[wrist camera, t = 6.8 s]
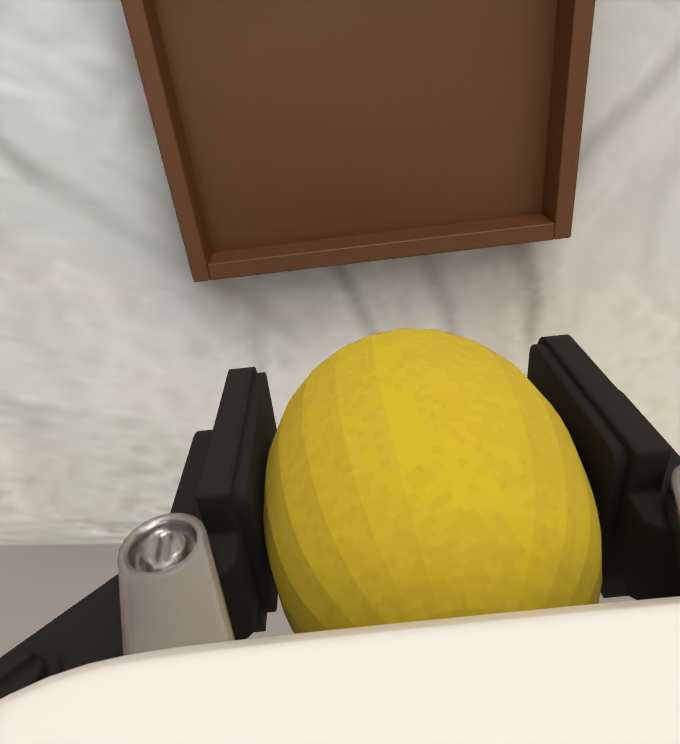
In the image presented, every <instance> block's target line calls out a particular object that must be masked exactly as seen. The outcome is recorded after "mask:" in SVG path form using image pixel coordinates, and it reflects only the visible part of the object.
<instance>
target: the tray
mask: <svg viewBox="0 0 680 744" xmlns="http://www.w3.org/2000/svg"><path fill="white" fill-rule="evenodd" d="M121 2H122V6H123V10H124V14H125V18H126V22H127V26H128V29H129V33H130V37H131V41H132V45H133V49H134V53H135V56H136V60H137V64H138V68H139V72H140V76H141V80H142V83H143V87H144V91H145V95H146V99H147V103H148V107H149V110H150V114H151V118H152V122H153V126H154V130H155V134H156V137H157V141H158V145H159V149H160V153H161V157H162V161H163V164H164V168H165V172H166V176H167V180H168V184H169V188H170V191H171V195H172V199H173V203H174V207H175V211H176V215H177V218H178V222H179V226H180V230H181V234H182V238H183V242H184V245H185V249H186V253H187V257H188V261H189V265H190V269H191V272H192V276H193V280H194V282H198V281H207V280H210V279H211V280H216V279H225V278H233V277H242V276H250V275H259V274H267V273H276V272H284V271H292V270H301V269H309V268H318V267H326V266H335V265H343V264H351V263H360V262H368V261H377V260H385V259H394V258H402V257H411V256H419V255H427V254H436V253H444V252H453V251H461V250H470V249H478V248H486V247H495V246H503V245H512V244H520V243H529V242H537V241H546V240H552V239H561V238H569V237H570V236H571V227H572V218H573V208H574V199H575V189H576V179H577V170H578V160H579V150H580V141H581V131H582V122H583V112H584V102H585V93H586V83H587V74H588V64H589V54H590V45H591V35H592V26H593V16H594V6H595V0H121Z"/></svg>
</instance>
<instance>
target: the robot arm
mask: <svg viewBox="0 0 680 744" xmlns="http://www.w3.org/2000/svg"><path fill="white" fill-rule="evenodd" d="M527 378H528V379H529V380H530V382H531V383H532V384H533V385H534V386H535V387H536V388H537V389H538V390H539V392H540V393H541V394H542V395H543V396H544V397H545V398H546V399H547V400H548V402H549V403H550V404H551V405H552V406H553V408H554V409H555V410H556V412H557V413H558V415H559V416H560V417H561V419H562V421H563V423H564V425H565V426H566V428H567V430H568V432H569V434H570V436H571V439H572V441H573V443H574V446H575V448H576V450H577V453H578V455H579V458H580V460H581V462H582V465H583V467H584V470H585V472H586V474H587V477H588V480H589V483H590V486H591V489H592V492H593V496H594V500H595V504H596V508H597V512H598V517H599V523H600V530H601V551H602V586H601V591H600V592H601V594H602V596H603V598H609V597H619V596H630V597H632V598H634V599H636V600H633V601H622V602H611V603H600V604H589V605H578V606H568V607H558V608H547V609H537V610H527V611H516V612H506V613H495V614H485V615H475V616H465V617H455V618H444V619H434V620H424V621H414V622H404V623H394V624H384V625H375V626H365V627H355V628H345V629H336V630H326V631H316V632H307V633H297V634H287V635H277V636H268V637H259V638H250V639H247V638H248V637H249V636H250V635H251V634H252V633H253V632H261V631H265V630H266V619H267V612H275V611H276V609H277V598H278V591H277V587H276V584H275V580H274V577H273V573H272V570H271V566H270V562H269V557H268V553H267V548H266V541H265V534H264V522H263V508H264V489H265V477H266V467H267V460H268V454H269V451H270V447H271V444H272V441H273V438H274V436H275V434H276V431H277V428H276V423H275V418H274V413H273V407H272V402H271V397H270V392H269V386H268V381H267V376H266V373H265V372H263V373H257V371H256V368H255V367H249V368H239V369H230V370H229V371H228V375H227V378H226V382H225V386H224V390H223V394H222V398H221V401H220V405H219V409H218V413H217V417H216V420H215V424H214V428H213V430H206V431H198V432H196V433H195V435H194V437H193V441H192V444H191V447H190V450H189V454H188V457H187V460H186V463H185V467H184V470H183V473H182V477H181V480H180V483H179V486H178V490H177V493H176V496H175V499H174V503H173V506H172V509H171V512H170V513H169V514H165V515H160V516H157V517H155V518H152V519H150V520H148V521H146V522H144V523H143V524H141V525H140V526H138V527H137V528H135V529H134V530H133V531H132V532H131V533H130V534H129V535H128V536H127V537H126V539H125V540H124V542H123V544H122V545H121V548H120V549H119V554H118V574H117V575H116V576H115V577H113V578H112V579H110V580H109V581H108V582H106V583H105V584H104V585H102V586H101V587H99V588H98V589H96V590H95V591H94V592H92V593H91V594H89V595H88V596H86V597H85V598H84V599H82V600H81V601H79V602H78V603H77V604H75V605H74V606H72V607H71V608H70V609H68V610H67V611H65V612H64V613H63V614H61V615H60V616H58V617H57V618H55V619H54V620H53V621H51V622H50V623H48V624H47V625H46V626H44V627H43V628H41V629H40V630H39V631H37V632H36V633H35V634H33V635H32V636H30V637H29V638H27V639H26V640H25V641H23V642H22V643H20V644H19V645H17V646H16V647H15V648H13V649H12V650H10V651H9V652H8V653H6V654H5V655H3V656H2V657H1V658H0V744H680V456H679V455H678V454H677V453H676V452H675V450H674V449H673V448H672V447H671V446H670V445H669V444H668V443H667V441H666V440H665V439H664V438H663V437H662V436H661V435H660V434H659V433H658V431H657V430H656V429H655V428H654V427H653V426H652V425H651V424H650V422H649V421H648V420H647V419H646V418H645V417H644V416H643V415H642V414H641V412H640V411H639V410H638V409H637V408H636V407H635V406H634V405H633V403H632V402H631V401H630V400H629V399H628V398H627V397H626V396H625V395H624V393H622V392H621V391H620V390H618V389H617V388H616V387H615V386H614V384H613V383H612V382H611V381H610V380H609V379H608V378H607V377H606V375H605V374H604V373H603V372H602V371H601V370H600V369H599V368H598V366H597V365H596V364H595V363H594V362H593V361H592V360H591V359H590V357H589V356H588V355H587V354H586V353H585V352H584V351H583V350H582V348H581V347H580V346H579V345H578V344H577V343H576V342H575V341H574V339H573V338H572V337H571V336H570V335H558V336H548V337H541V338H540V339H539V341H538V344H534V345H532V346H531V348H530V353H529V364H528V375H527Z"/></svg>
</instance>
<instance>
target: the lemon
mask: <svg viewBox="0 0 680 744" xmlns="http://www.w3.org/2000/svg"><path fill="white" fill-rule="evenodd" d="M263 522H264V534H265V541H266V548H267V553H268V557H269V562H270V566H271V570H272V573H273V577H274V580H275V584H276V587H277V591H278V594H279V598H280V601H281V604H282V607H283V611H284V613H285V616H286V618H287V620H288V622H289V624H290V627H291V629H292V631H293V632H294V634H297V633H307V632H316V631H326V630H336V629H345V628H355V627H365V626H375V625H384V624H394V623H404V622H414V621H424V620H434V619H444V618H455V617H465V616H475V615H485V614H495V613H506V612H516V611H527V610H537V609H547V608H558V607H568V606H578V605H589V604H598V602H599V597H600V591H601V586H602V551H601V530H600V523H599V517H598V512H597V508H596V504H595V500H594V496H593V492H592V489H591V486H590V483H589V480H588V477H587V474H586V472H585V470H584V467H583V465H582V462H581V460H580V458H579V455H578V453H577V450H576V448H575V446H574V443H573V441H572V439H571V436H570V434H569V432H568V430H567V428H566V426H565V425H564V423H563V421H562V419H561V417H560V416H559V415H558V413H557V412H556V410H555V409H554V408H553V406H552V405H551V404H550V403H549V402H548V400H547V399H546V398H545V397H544V396H543V395H542V394H541V393H540V392H539V390H538V389H537V388H536V387H535V386H534V385H533V384H532V383H531V382H530V380H529V379H528V378H527V377H526V376H525V375H524V374H523V373H522V372H521V371H520V370H519V369H518V368H517V367H516V366H514V365H513V364H512V363H511V362H509V361H507V360H506V359H504V358H502V357H501V356H499V355H497V354H496V353H494V352H492V351H490V350H489V349H487V348H485V347H484V346H482V345H480V344H479V343H477V342H475V341H473V340H470V339H466V338H463V337H459V336H456V335H452V334H449V333H445V332H442V331H438V330H426V329H399V330H394V331H389V332H384V333H378V334H373V335H370V336H368V337H366V338H363V339H361V340H359V341H356V342H354V343H352V344H349V345H347V346H345V347H343V348H341V349H340V350H339V351H337V352H336V353H334V354H333V355H332V356H330V357H329V358H328V359H326V360H325V361H324V362H322V363H321V364H320V365H318V366H317V367H316V368H315V369H314V370H313V371H312V372H311V373H310V375H309V376H308V377H307V378H306V380H305V381H304V382H303V384H302V385H301V386H300V387H299V389H298V390H297V391H296V392H295V394H294V395H293V396H292V398H291V400H290V401H289V403H288V405H287V407H286V410H285V412H284V414H283V417H282V419H281V422H280V424H279V426H278V429H277V431H276V434H275V436H274V438H273V441H272V444H271V447H270V451H269V454H268V460H267V467H266V477H265V489H264V508H263Z"/></svg>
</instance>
